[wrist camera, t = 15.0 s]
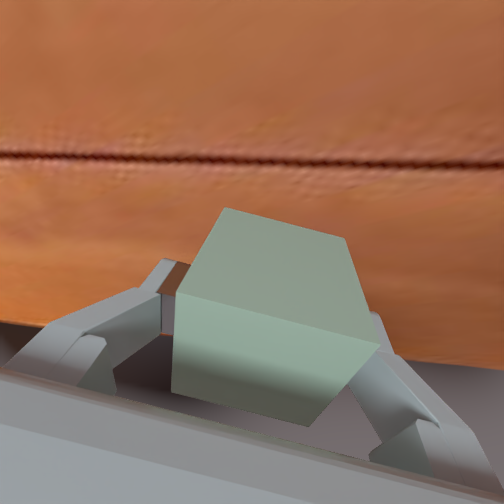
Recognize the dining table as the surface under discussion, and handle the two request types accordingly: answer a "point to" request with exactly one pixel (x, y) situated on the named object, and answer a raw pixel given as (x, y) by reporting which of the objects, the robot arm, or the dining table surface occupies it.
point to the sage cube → (270, 319)
